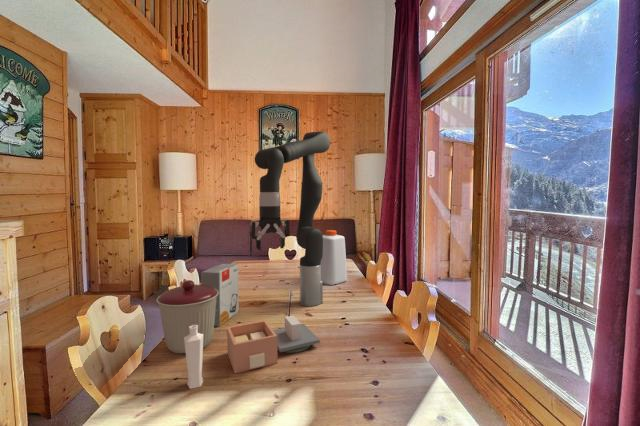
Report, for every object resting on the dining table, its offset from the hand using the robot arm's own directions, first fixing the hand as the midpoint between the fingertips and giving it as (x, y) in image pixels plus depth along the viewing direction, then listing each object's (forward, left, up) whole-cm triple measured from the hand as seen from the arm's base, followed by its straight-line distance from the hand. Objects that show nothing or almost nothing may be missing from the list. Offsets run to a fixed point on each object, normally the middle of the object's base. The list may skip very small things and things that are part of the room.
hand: (270, 249), depth 112 cm
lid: (-2, +17, -26) cm, 32 cm away
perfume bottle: (+28, +26, -28) cm, 48 cm away
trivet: (-2, +17, -28) cm, 33 cm away
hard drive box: (+16, -14, -28) cm, 35 cm away
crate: (+12, +20, -28) cm, 37 cm away
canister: (+28, +4, -28) cm, 40 cm away
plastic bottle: (-46, -40, -28) cm, 67 cm away
